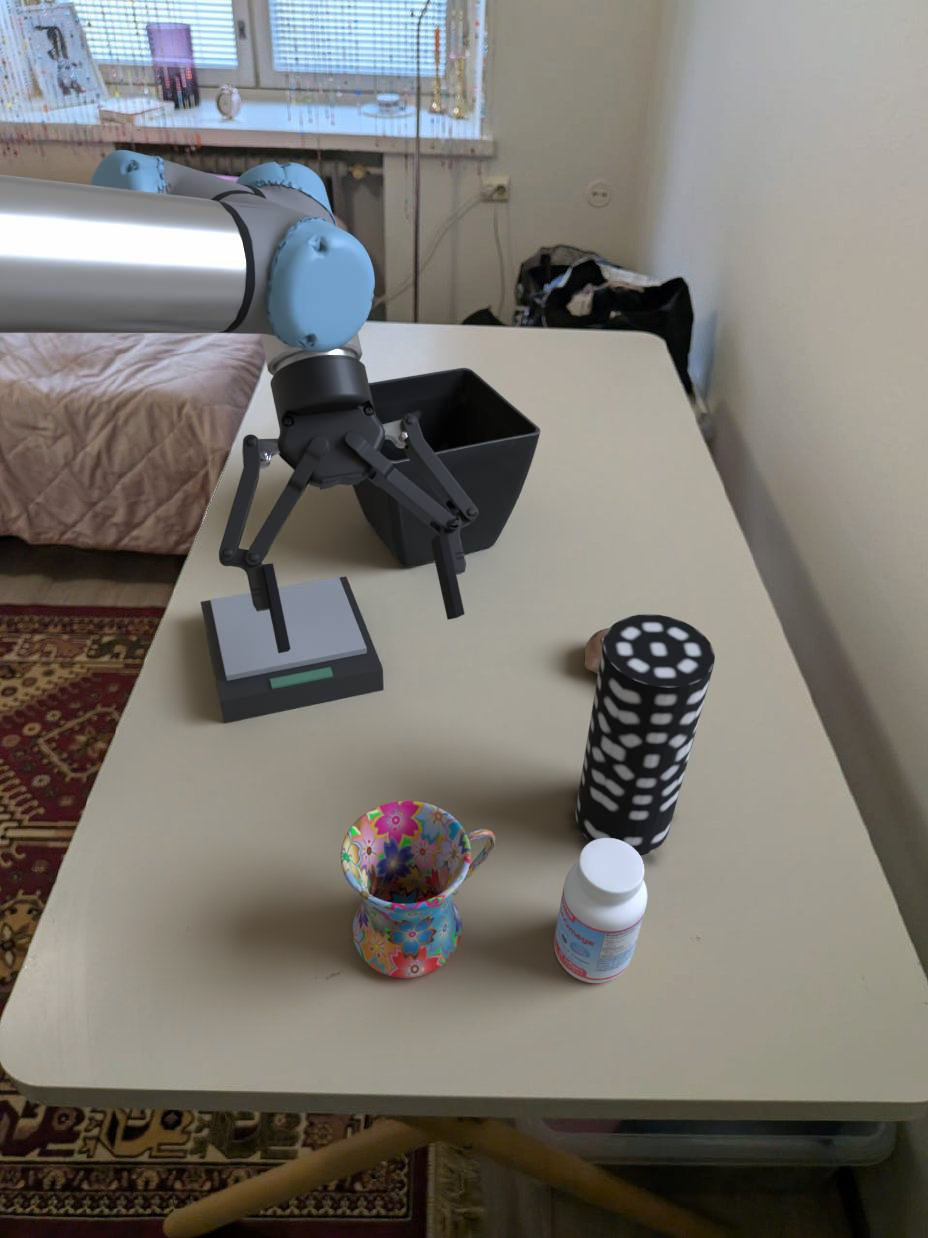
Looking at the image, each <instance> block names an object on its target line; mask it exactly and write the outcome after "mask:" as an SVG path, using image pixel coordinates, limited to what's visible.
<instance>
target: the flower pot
mask: <svg viewBox="0 0 928 1238" xmlns="http://www.w3.org/2000/svg"><path fill="white" fill-rule="evenodd" d="M369 387H370V392H371V396H372V401H373V406H374V411H375V414H376V416H377V418H378V420H379V421H380V422H381V423H382V424H386V423H390V422H394V421H398V420H401V419H402V418H403V417H404V415H405V414H407V413H411V414H414V415H415V416H416V417H417V420H418V423H419V426H420V429H421V431H422V434H423V437H424V439H425V441H426V442H427V443H428V445H429V446H430V447H431V449H432V450H433V451H434V452H435V454H436V455H437V456H438V458H439V459H440V460H441V462H442V463H443V464H444V466H445V467H446V468H447V469H448V471H449V472H450V473H451V475H452V476H453V477H454V479H455V480H456V481H457V483H458V484H459V485H460V486H461V488H462V489H463V490H464V492H465V493H466V494H467V496H468V497H469V498H470V499H471V501H472V502H473V503H474V505H475V506H476V507H477V509H478V512H479V514H478V517H477V518H476V519H475V520H473V521H472V522H471V523H470V524H469V525H467V526H465V527H463V528H461V530H460V539H461V543H462V548H463V553H464V555H465V554H468V553H472V552H476V551H480V550H484V549H489V548H491V547H493V546H495V544H496V542H497V541H498V540H499V538H500V536H501V534H502V532H503V530H504V528H505V527H506V525H507V522H508V521H509V519H510V517H511V514H512V513H513V510H514V508H515V506H516V504H517V502H518V499H519V498H520V495H521V493H522V490H523V488H524V485H525V482H526V481H527V477H528V475H529V473H530V469H531V466H532V463H533V460H534V457H535V454H536V450H537V447H538V443H539V438H540V435H541V428H540V427H539V426H538V425H536V424H535V423H534V422H533V421H532V420H531V419H530V418H528V417H527V416H526V415H525V414H524V413H522V412H521V411H520V410H519V409H518V408H517V407H516V406H515V405H513V404H512V403H511V402H509V401H508V400H507V398H505V397H504V396H503V395H501V394H500V392H498V391H497V390H496V389H495V388H493V386H491V385H490V384H489V383H488V382H487V381H485V379H483V377H481V376H480V375H478V373H476V372H475V371H474V370H472V369H471V368H468V367H459V368H453V369H445V370H439V371H432V372H428V373H422V374H421V373H420V374H415V375H410V376H403V377H397V378H391V379H386V380H380V381H373V382H369ZM379 452H380V453H381V454H382V455H383V456H384V457H386V458H387V459H388V460H389V461H390V462H392V464H393V465H394V467H395V468H396V469H397V470H398V471H399V472H401V473H402V474H403V475H404V476H405V477H407V478H408V479H409V480H410V481H412V482H413V483H414V484H415V485H416V486H418V487H419V488H420V489H421V490H422V491H424V492H425V493H426V494H427V495H429V496H430V497H431V498H432V499H433V500H435V501H436V502H437V503H438V504H439V505H441V506H442V507H443V508H444V509H446V510H447V511H448V512H449V510H448V509H447V508H446V507H445V505H444V504H443V503H442V501H441V500H440V499H439V497H438V496H437V495H436V494H435V492H434V491H433V490H432V488H431V487H430V486H429V484H428V483H427V482H426V481H425V479H424V478H423V477H422V475H421V474H420V473H419V471H418V470H417V469H416V468H415V466H414V465H413V464H412V462H411V461H410V460H409V458H408V457H407V455H406V453H405V451H404V449H403V448H402V449H401V448H397V447H396V446H395V445H394V443H393V442H392V441H391V440H389V439H385V440H384V442H383V444H382V447H381V449H380V451H379ZM351 486H352V488H353V491H354V494H355V496H356V500H357V502H358V504H359V507H360V509H361V511H362V514H363V515H364V518H365V520H366V521H367V522H368V524H369V525H370V526H371V529H372V530H373V531H374V532H375V533H376V535H377V536H378V538H379V539H380V541H381V542H382V543H383V544H384V546H385V548H387V550H388V551H389V552H390V554H391V555H392V557H393V558H394V559H395V561H396V562H397V564H398V565H399V566H401V567H403V568H412V567H416V566H421V565H423V564H429V563H432V562H435V559H434V555H433V550H432V545H431V541H432V540H433V539H434V538H435V537H436V536H437V535H439V534H437V533H436V532H435V531H434V530H433V529H431V528H430V527H429V526H428V525H426V524H425V523H424V522H423V521H422V520H420V519H419V518H418V517H417V516H415V515H414V514H413V513H412V512H411V511H409V510H408V509H407V508H406V507H404V506H403V505H402V504H401V503H400V502H398V501H397V500H396V499H395V498H393V497H392V496H391V495H390V494H389V493H387V492H386V491H385V490H384V489H382V488H381V487H378V486H376V485H375V484H373V483H372V482H371V481H370V480H369V479H367V478H365V479H364V480H362V481H360V482H359V484H355V485H351ZM449 513H450V512H449ZM450 514H451V513H450Z"/></svg>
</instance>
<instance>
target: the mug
mask: <svg viewBox="0 0 928 1238" xmlns="http://www.w3.org/2000/svg"><path fill="white" fill-rule="evenodd" d="M466 832H467V831H465V829H464V827H463V826H462V825H461V823H460V822H459V821H458V820H457V819H456V818H455V817H454V816H453V815H451V813H449V812H448V811H447V810H444V809H442V808H441V807H438V806H436V805H434V804H430V803H427V802H423V801H418V800H417V801H416V800H400V801H399V800H398V801H391V802H387V803H384V804H382V805H378V806H376V807H374V808H372V809H370V810H368V811H367V812H365V813H364V814H362V815H361V816H359V818H358V819H357V820H356V821H355V822H354V823H353V824H352V825H351V827H350V828H349V829H348V831H347V833H346V835H345V836H344V839H343V841H342V844H341V849H340V865H341V869H342V873H343V876H344V878H345V879H346V881H347V883H348V884H349V886H350V887H351V888H352V890H353V891H354V892H355V893H356V894H357V895H358V896H359V897H360V899H361V903H360V904H359V906H358V908H357V909H356V912H355V915H354V918H353V921H352V938H353V943H354V945H355V947H356V950H357V952H358V953H359V955H360V957H361V958H362V959H363V960H364V962H365V963H366V964H368V965H369V966H370V967H371V968H373V969H374V970H375V971H377V972H379V973H381V974H384V975H386V976H389V977H393V978H398V979H413V978H418V977H422V976H425V975H428V974H430V973H433V972H435V971H437V970H438V969H439V968H442V966H444V964H446V963H447V962H448V961H449V960H450V958H451V957H452V956H453V954H454V953H455V952H456V950H457V948H458V945H459V943H460V940H461V937H462V931H463V930H462V929H463V928H462V927H463V926H462V918H461V914H460V912H459V909H458V907H457V905H456V903H455V902H454V900H453V899H452V896H457V895H458V894H459V890H458V889H459V887H460V886H461V885H462V884H463V883H464V882H465V881H466V880H468V879H469V878H470V877H471V876H472V875H473V874H475V872H477V871H478V869H479V868H480V867H481V866H483V864H484V863H485V862H486V860H487V859H488V858H489V856H490V855H491V853H492V852H493V849H494V847H495V844H496V836H495V835H494V833H493V831H491V830H490V829H487V828H480V829H475V830H473V831H471V832H469V833H466ZM483 838H487V841H486V843H485V844H484V847H483V848H482V850H481V851H480V852H479V854H478V855H477V856H476V857H475V859H473V861H472V860H471V859H472V848H471V844H472V843H474V842H476V841H477V840H480V839H483Z"/></svg>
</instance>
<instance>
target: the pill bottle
mask: <svg viewBox="0 0 928 1238" xmlns="http://www.w3.org/2000/svg"><path fill="white" fill-rule="evenodd" d="M641 856H642V855H639V854H638V852H637V851H636V850H635V849H634V848H633V847H632V846H630V845H629V844H627V843H625V842H623V841H621V840H618V839H614V838H600V839H596V840H594V841H591V842H590V841H589V842H588V843H586V845H585V846H583V848H582V849H581V851H580V853H579V856H578V860H577V861H576V862H575V863H574V864H573V865H572V866H571V867H570V869H569V870H568V871H567V874H566V875H565V878H564V882H563V887H562V894H561V899H560V903H559V904H560V905H559V910H558V914H557V915H558V916H557V920H556V927H555V933H554V939H553V947H554V952H555V955H556V958H557V960H558V962H559V964H560V965H561V966H562V968H563V969H564V970H565V971H566V972H567V973H568V974H570V975H571V976H573V977H574V978H575V979H578V980H580V981H583V982H585V983H590V984H603V983H608V982H611V981H613V980H614V979H617V978H618V977H619V976H621V975H622V974H623V973H624V972H625V971H626V970H627V969H628V967H629V965H630V963H631V961H632V959H633V955H634V952H635V948H636V945H637V941H638V937H639V934H640V930H641V927H642V922H643V919H644V916H645V912H646V908H647V905H648V904H647V903H648V888H647V885H646V882H645V880H644V877H645V864H644V861H643V858H642V857H641Z"/></svg>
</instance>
